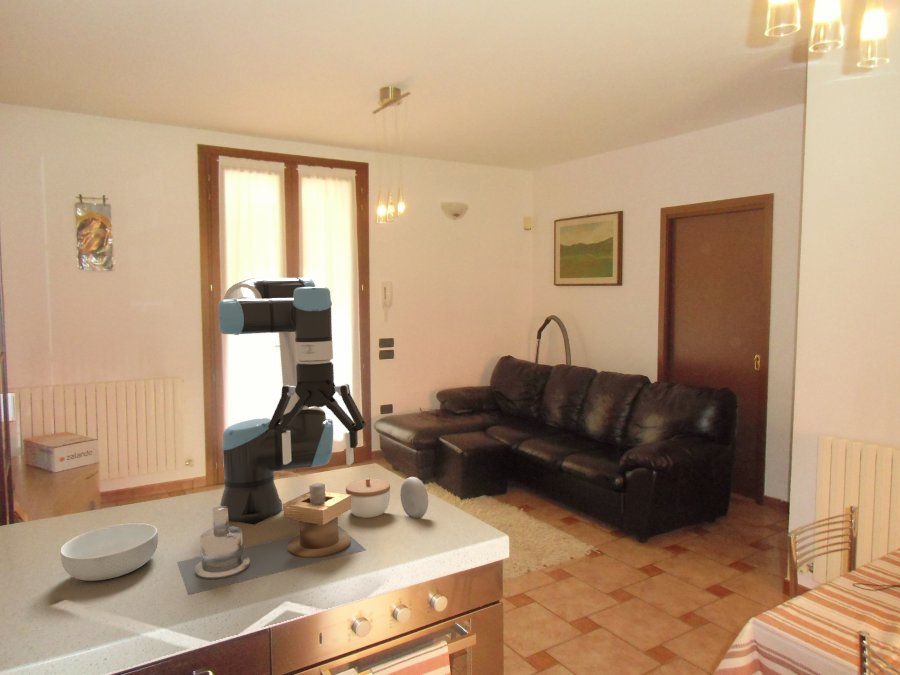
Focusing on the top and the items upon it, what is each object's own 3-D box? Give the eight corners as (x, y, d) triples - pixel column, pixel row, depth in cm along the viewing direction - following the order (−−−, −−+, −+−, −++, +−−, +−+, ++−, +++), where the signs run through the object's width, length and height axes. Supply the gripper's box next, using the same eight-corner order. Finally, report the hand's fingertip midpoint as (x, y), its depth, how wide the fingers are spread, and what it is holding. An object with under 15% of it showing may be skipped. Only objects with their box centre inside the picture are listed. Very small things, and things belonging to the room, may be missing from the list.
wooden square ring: (283, 518, 124) (282, 504, 124) (313, 503, 133) (313, 489, 133) (323, 524, 120) (322, 510, 120) (351, 508, 129) (351, 494, 129)
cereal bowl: (97, 555, 128) (95, 522, 127) (175, 554, 127) (173, 521, 127) (40, 594, 111) (38, 557, 110) (129, 594, 110) (127, 556, 110)
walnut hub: (274, 552, 124) (271, 491, 123) (313, 529, 136) (311, 473, 135) (326, 562, 119) (324, 498, 118) (362, 537, 130) (360, 479, 130)
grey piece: (431, 522, 142) (430, 480, 141) (419, 526, 140) (418, 483, 139) (410, 510, 150) (409, 471, 149) (398, 513, 148) (397, 473, 147)
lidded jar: (337, 517, 146) (336, 479, 146) (371, 505, 154) (370, 469, 154) (365, 528, 139) (364, 488, 139) (400, 515, 147) (399, 477, 146)
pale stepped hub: (183, 574, 115) (180, 513, 114) (223, 553, 124) (220, 497, 123) (222, 583, 111) (219, 520, 110) (260, 561, 120) (258, 503, 119)
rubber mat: (188, 601, 107) (188, 594, 107) (177, 567, 120) (177, 561, 120) (366, 555, 124) (366, 549, 124) (339, 530, 138) (338, 525, 138)
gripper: (249, 364, 122) (253, 467, 123) (368, 362, 119) (372, 468, 120) (264, 360, 130) (269, 457, 131) (378, 359, 127) (381, 458, 128)
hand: (318, 463), depth 126 cm, fingers open, 13 cm apart
